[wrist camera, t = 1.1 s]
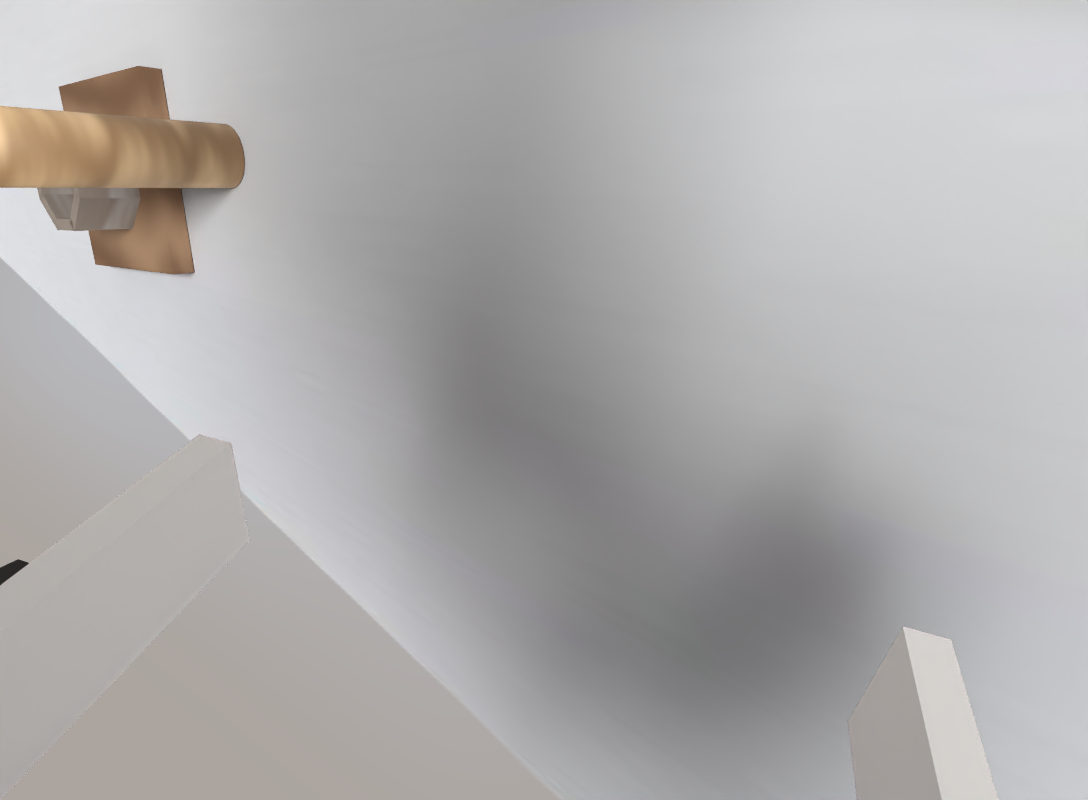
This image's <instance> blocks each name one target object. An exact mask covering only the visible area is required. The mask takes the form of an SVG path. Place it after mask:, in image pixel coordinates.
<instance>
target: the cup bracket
mask: <svg viewBox="0 0 1088 800" xmlns="http://www.w3.org/2000/svg"><path fill="white" fill-rule="evenodd" d="M59 90H60V95H61V100H62V105H63V110H64V111H68V112H81V113H93V114H106V115H118V116H131V117H143V118H155V119H168V120H169V114H168V108H167V102H166V96H165V90H164V84H163V78H162V72H161V69H157V68H149V67H142V66H136V67H132V68H129V69H125V70H121V71H117V72H113V73H110V74H106V75H102V76H98V77H94V78H91V79H87V80H83V81H79V82H75V83H72V84H68V85H64V86H60V87H59ZM37 189H38V193H39V198H40V200H41V202H42V204H43V205H44V207H45V209H46V211H47V212H48V214H49V216H50V218H51V219H52V221H53V223H54V224H55V226H56V228H57V230H71V231H84V230H89V235H90V240H91V245H92V250H93V255H94V259H95V264H96V265H104V266H112V267H120V268H128V269H136V270H144V271H152V272H160V273H168V274H182V273H193V272H194V267H193V261H192V255H191V249H190V243H189V237H188V230H187V224H186V218H185V212H184V206H183V200H182V194H181V188H37Z"/></svg>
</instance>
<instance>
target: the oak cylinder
mask: <svg viewBox="0 0 1088 800" xmlns="http://www.w3.org/2000/svg"><path fill="white" fill-rule="evenodd" d="M244 166H245V162H244V152H243V148H242V144H241V141H240V139H239V137H238V135H237V133H236V132H235V130H234V129H233V128H232V127H230V126H229V125H227V124H218V123H205V122H193V121H180V120H168V119H155V118H143V117H131V116H118V115H106V114H93V113H81V112H68V111H56V110H43V109H31V108H18V107H6V106H0V188H235V187H237V186H238V185H239V184H240V182H241V180H242V178H243V174H244Z"/></svg>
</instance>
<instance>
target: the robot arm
mask: <svg viewBox="0 0 1088 800" xmlns="http://www.w3.org/2000/svg"><path fill="white" fill-rule="evenodd" d="M249 541H250V537H249V533H248V527H247V522H246V517H245V511H244V506H243V501H242V496H241V491H240V486H239V481H238V475H237V470H236V465H235V460H234V455H233V450H232V445H231V443H229V442H225V441H221V440H218V439H214V438H210V437H207V436H203V435H198V436H197V437H195V438H194V439H193V440H191V441H190V442H189V443H187V444H186V445H185V446H183V447H182V448H181V449H180V450H178V451H177V452H176V453H174V454H173V455H172V456H170V457H169V458H168V459H166V460H165V461H164V462H162V463H161V464H160V465H158V466H157V467H156V468H154V469H153V470H152V471H150V472H149V473H148V474H147V475H145V476H144V477H143V478H141V479H140V480H139V481H137V482H136V483H135V484H133V485H132V486H131V487H129V488H128V489H127V490H125V491H124V492H123V493H121V494H120V495H119V496H117V497H116V498H115V499H114V500H112V501H111V502H110V503H108V504H107V505H106V506H104V507H103V508H102V509H100V510H99V511H98V512H96V513H95V514H94V515H92V516H91V517H90V518H88V519H87V520H86V521H85V522H83V523H82V524H81V525H80V526H78V527H77V528H75V529H74V530H73V531H71V532H70V533H69V534H67V535H66V536H65V537H63V538H62V539H61V540H60V541H58V542H57V543H56V544H54V545H53V546H52V547H50V548H49V549H48V550H46V551H45V552H44V553H42V554H41V555H40V556H38V557H37V558H36V559H35V560H33V561H32V562H30V563H27V562H24V561H21V560H16V561H14V562H11V563H9V564H7V565H5V566H3V567H1V568H0V799H2V798H3V796H5V795H6V794H7V792H8V791H9V790H10V789H11V788H12V787H13V786H14V785H15V784H16V783H17V782H18V781H19V780H20V779H21V778H22V777H23V776H24V775H25V773H27V772H28V770H30V769H31V768H32V767H33V765H34V764H35V763H36V762H37V761H38V760H39V759H40V758H41V757H42V756H43V755H44V754H45V753H46V752H47V751H48V750H49V749H50V748H51V747H52V746H53V745H54V744H55V743H56V742H57V740H58V739H59V738H60V737H61V736H62V735H63V734H64V733H65V732H66V731H67V730H68V729H69V728H70V727H71V726H72V725H73V724H74V723H75V722H76V721H77V720H78V718H80V717H81V716H82V714H84V712H85V711H86V710H87V709H88V708H89V707H90V706H91V705H92V704H93V703H94V702H95V701H96V700H97V699H98V698H99V697H100V696H101V695H102V694H103V693H104V692H105V691H106V690H107V689H108V688H109V686H110V685H111V684H112V683H113V682H114V681H115V680H116V679H117V678H118V677H119V676H120V675H121V674H122V673H123V672H124V671H125V670H126V669H127V668H128V667H129V666H130V665H131V664H132V662H134V660H135V659H136V658H137V657H138V656H139V655H140V654H141V653H142V652H143V651H144V650H145V649H146V648H147V647H148V646H149V645H150V644H151V643H152V642H153V641H154V640H155V639H156V638H157V637H158V635H160V633H161V632H162V631H163V630H164V629H165V628H166V627H167V626H168V625H169V624H170V623H171V622H172V621H173V620H174V619H175V618H176V617H177V616H178V615H179V614H180V613H181V612H182V611H183V609H185V608H186V606H187V605H188V604H189V603H190V602H191V601H192V600H193V599H194V598H195V597H196V596H197V595H198V594H199V593H200V592H201V591H202V590H203V589H204V588H205V587H206V586H207V585H208V584H209V583H210V581H211V580H212V579H213V578H214V577H215V576H216V575H217V574H218V573H219V572H220V571H221V570H222V569H223V568H224V567H225V566H226V565H227V564H228V563H229V562H230V561H231V560H232V559H233V558H234V557H235V556H236V555H237V553H238V552H239V551H240V550H241V549H242V548H243V547H244V546H245V545H246V544H247V543H248V542H249ZM848 728H849V736H850V745H851V753H852V762H853V771H854V779H855V788H856V796H857V800H999V799H998V796H997V793H996V789H995V786H994V783H993V779H992V776H991V772H990V769H989V766H988V762H987V759H986V756H985V752H984V749H983V745H982V742H981V739H980V735H979V732H978V729H977V725H976V722H975V718H974V715H973V712H972V708H971V705H970V702H969V698H968V695H967V691H966V688H965V685H964V681H963V678H962V675H961V671H960V668H959V664H958V661H957V658H956V654H955V651H954V648H953V644H952V641H951V639H947V638H943V637H940V636H936V635H932V634H929V633H925V632H921V631H918V630H914V629H910V628H907V627H902V629H901V631H900V632H899V634H898V636H897V637H896V639H895V641H894V643H893V644H892V646H891V648H890V649H889V651H888V653H887V654H886V656H885V658H884V660H883V661H882V663H881V665H880V666H879V668H878V670H877V672H876V673H875V675H874V677H873V678H872V680H871V682H870V684H869V685H868V687H867V689H866V690H865V692H864V694H863V695H862V697H861V699H860V701H859V702H858V704H857V706H856V707H855V709H854V711H853V713H852V714H851V716H850V718H849V719H848Z"/></svg>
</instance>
